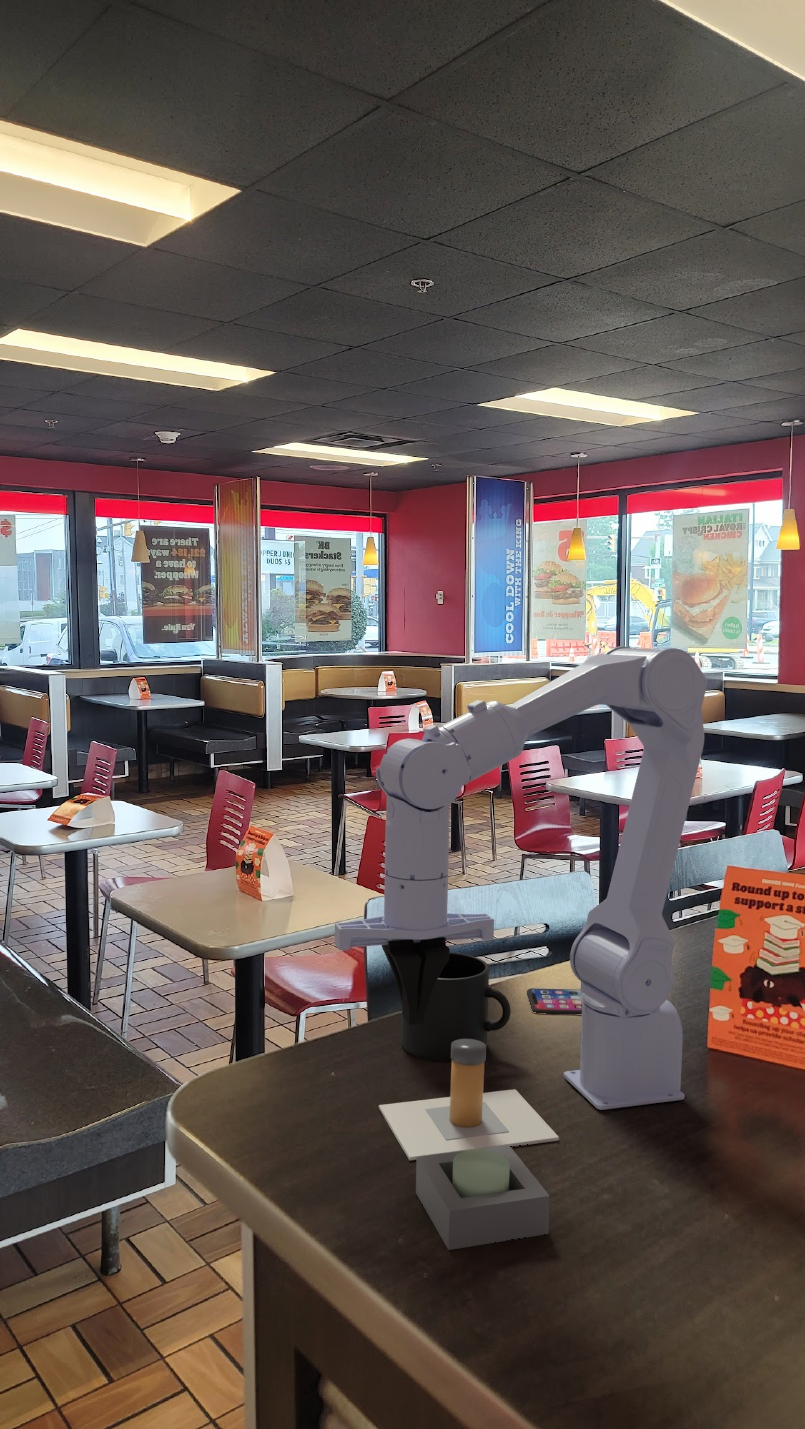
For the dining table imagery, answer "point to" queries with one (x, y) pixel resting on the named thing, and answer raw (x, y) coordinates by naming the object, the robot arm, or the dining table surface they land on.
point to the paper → (433, 1132)
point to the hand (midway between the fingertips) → (413, 1020)
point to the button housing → (482, 1203)
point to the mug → (455, 1010)
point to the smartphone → (555, 1001)
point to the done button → (480, 1173)
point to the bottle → (467, 1082)
